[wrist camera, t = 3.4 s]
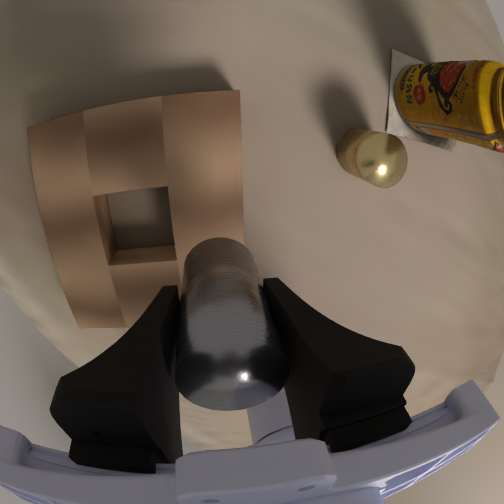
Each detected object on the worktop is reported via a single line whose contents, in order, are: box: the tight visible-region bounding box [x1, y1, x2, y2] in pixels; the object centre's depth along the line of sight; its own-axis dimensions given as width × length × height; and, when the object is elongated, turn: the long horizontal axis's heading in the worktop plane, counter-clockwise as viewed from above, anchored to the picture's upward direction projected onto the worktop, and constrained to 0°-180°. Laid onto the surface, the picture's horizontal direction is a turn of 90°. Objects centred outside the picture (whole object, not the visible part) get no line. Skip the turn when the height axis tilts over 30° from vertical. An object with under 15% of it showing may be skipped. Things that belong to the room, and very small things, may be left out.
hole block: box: [27, 90, 244, 328], centre depth 18 cm, size 16×14×2 cm
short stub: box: [336, 129, 407, 188], centre depth 18 cm, size 4×4×4 cm
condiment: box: [387, 49, 504, 153], centre depth 13 cm, size 7×8×12 cm
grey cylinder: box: [175, 237, 290, 411], centre depth 11 cm, size 4×4×7 cm
